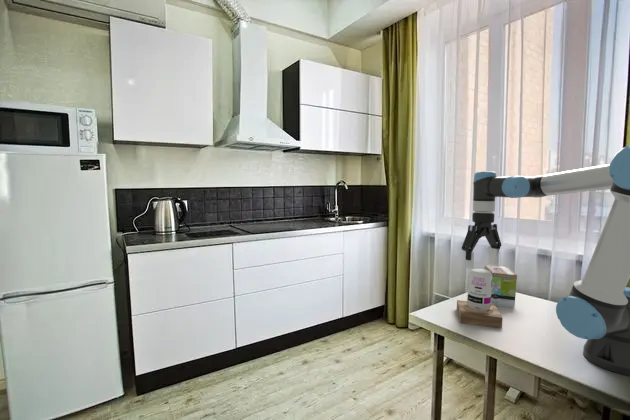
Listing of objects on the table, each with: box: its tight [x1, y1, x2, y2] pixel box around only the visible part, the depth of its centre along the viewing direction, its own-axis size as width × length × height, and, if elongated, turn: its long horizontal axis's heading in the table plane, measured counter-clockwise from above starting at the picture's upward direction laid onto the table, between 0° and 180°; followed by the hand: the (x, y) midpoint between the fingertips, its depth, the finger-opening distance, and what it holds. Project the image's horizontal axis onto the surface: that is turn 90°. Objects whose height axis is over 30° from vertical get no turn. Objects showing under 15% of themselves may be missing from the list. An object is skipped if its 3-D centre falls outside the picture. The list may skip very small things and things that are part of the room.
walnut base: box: [456, 299, 504, 329], centre depth 129 cm, size 14×14×4 cm
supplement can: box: [466, 267, 492, 311], centre depth 128 cm, size 8×8×15 cm
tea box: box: [483, 264, 518, 309], centre depth 147 cm, size 15×10×15 cm
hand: (481, 266), depth 127 cm, fingers open, 13 cm apart
